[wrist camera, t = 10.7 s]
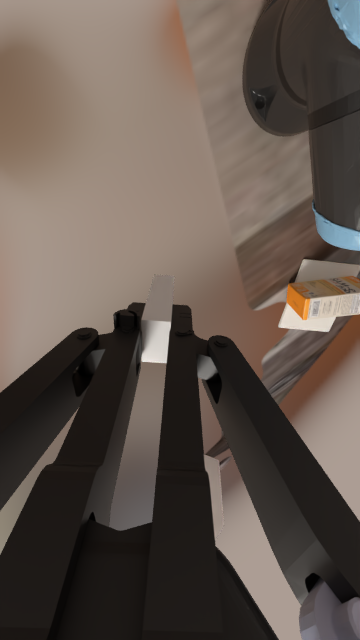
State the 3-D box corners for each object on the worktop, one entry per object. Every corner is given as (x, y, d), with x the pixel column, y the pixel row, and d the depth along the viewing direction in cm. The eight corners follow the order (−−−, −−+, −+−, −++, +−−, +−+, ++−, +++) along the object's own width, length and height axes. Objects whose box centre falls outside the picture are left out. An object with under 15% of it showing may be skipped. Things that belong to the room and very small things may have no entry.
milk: (199, 474, 89) (205, 572, 67) (173, 465, 86) (171, 565, 64) (218, 460, 84) (232, 561, 62) (192, 449, 81) (197, 552, 59)
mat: (303, 258, 47) (304, 259, 47) (360, 265, 48) (362, 265, 47) (277, 326, 55) (278, 327, 55) (327, 330, 56) (328, 331, 55)
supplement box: (287, 282, 49) (352, 274, 48) (285, 303, 51) (347, 295, 51) (306, 298, 42) (383, 288, 41) (303, 321, 44) (375, 313, 43)
